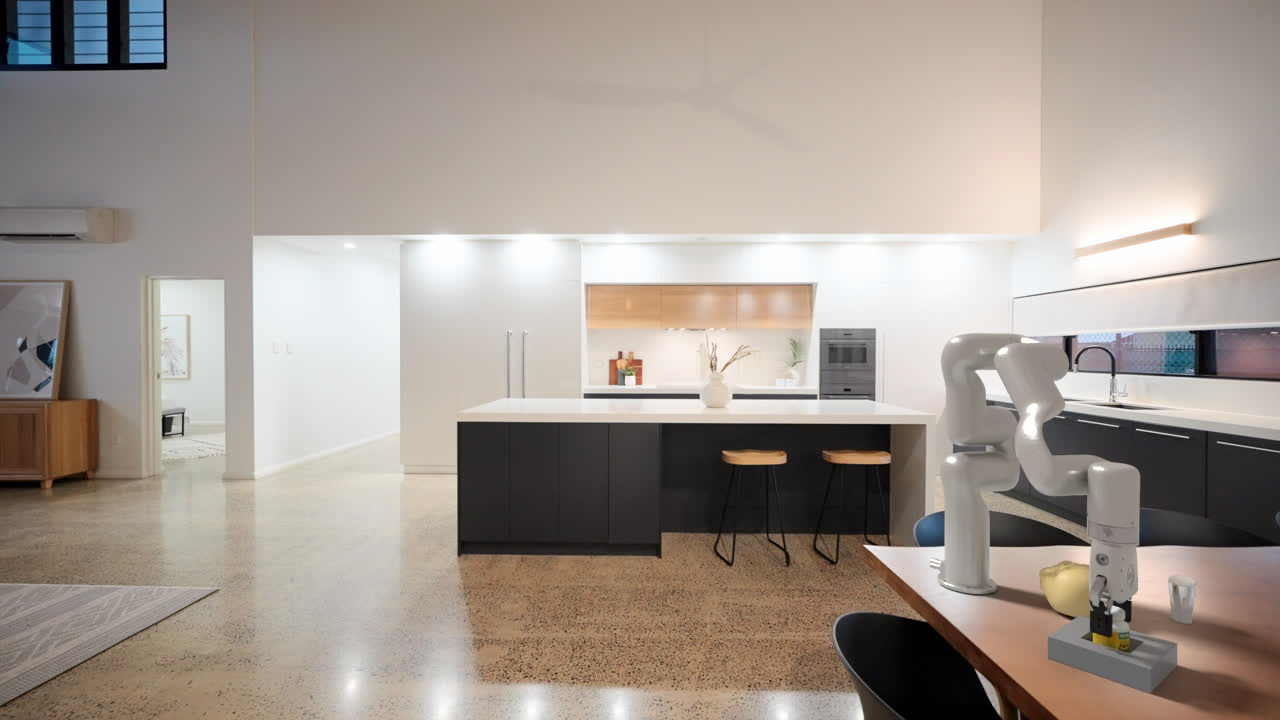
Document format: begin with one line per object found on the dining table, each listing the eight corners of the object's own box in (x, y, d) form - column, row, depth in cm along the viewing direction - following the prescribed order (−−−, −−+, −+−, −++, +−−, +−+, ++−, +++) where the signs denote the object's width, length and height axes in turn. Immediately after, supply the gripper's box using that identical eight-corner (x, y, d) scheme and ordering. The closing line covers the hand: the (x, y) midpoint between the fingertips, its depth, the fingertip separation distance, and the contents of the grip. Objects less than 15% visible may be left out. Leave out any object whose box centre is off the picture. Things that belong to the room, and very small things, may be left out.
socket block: (1047, 658, 116) (1048, 636, 115) (1079, 635, 125) (1079, 615, 124) (1150, 693, 104) (1150, 669, 103) (1177, 666, 113) (1177, 643, 112)
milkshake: (1194, 628, 127) (1195, 579, 127) (1163, 618, 132) (1163, 571, 132) (1205, 624, 130) (1206, 575, 129) (1173, 614, 134) (1174, 567, 134)
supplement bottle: (1100, 651, 118) (1100, 600, 118) (1134, 663, 113) (1135, 610, 113) (1087, 659, 115) (1087, 606, 115) (1122, 672, 110) (1122, 617, 110)
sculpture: (1075, 600, 142) (1075, 552, 142) (1124, 623, 130) (1125, 571, 130) (1030, 604, 140) (1030, 555, 140) (1076, 627, 128) (1076, 574, 128)
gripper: (1121, 547, 106) (1119, 649, 106) (1153, 528, 116) (1152, 621, 116) (1069, 536, 112) (1068, 632, 112) (1105, 519, 122) (1103, 608, 122)
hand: (1110, 627), depth 114 cm, fingers open, 9 cm apart
